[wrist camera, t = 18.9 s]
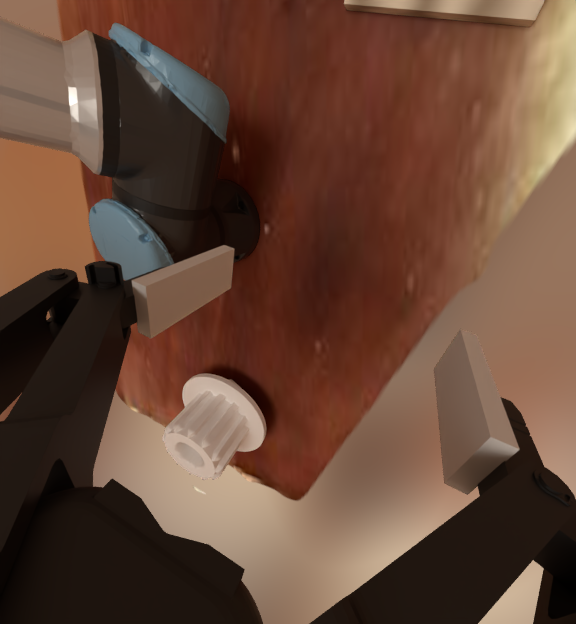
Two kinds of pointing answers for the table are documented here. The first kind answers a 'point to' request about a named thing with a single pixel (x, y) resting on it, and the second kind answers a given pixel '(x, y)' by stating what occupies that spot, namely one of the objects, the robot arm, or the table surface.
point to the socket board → (456, 9)
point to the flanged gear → (213, 426)
